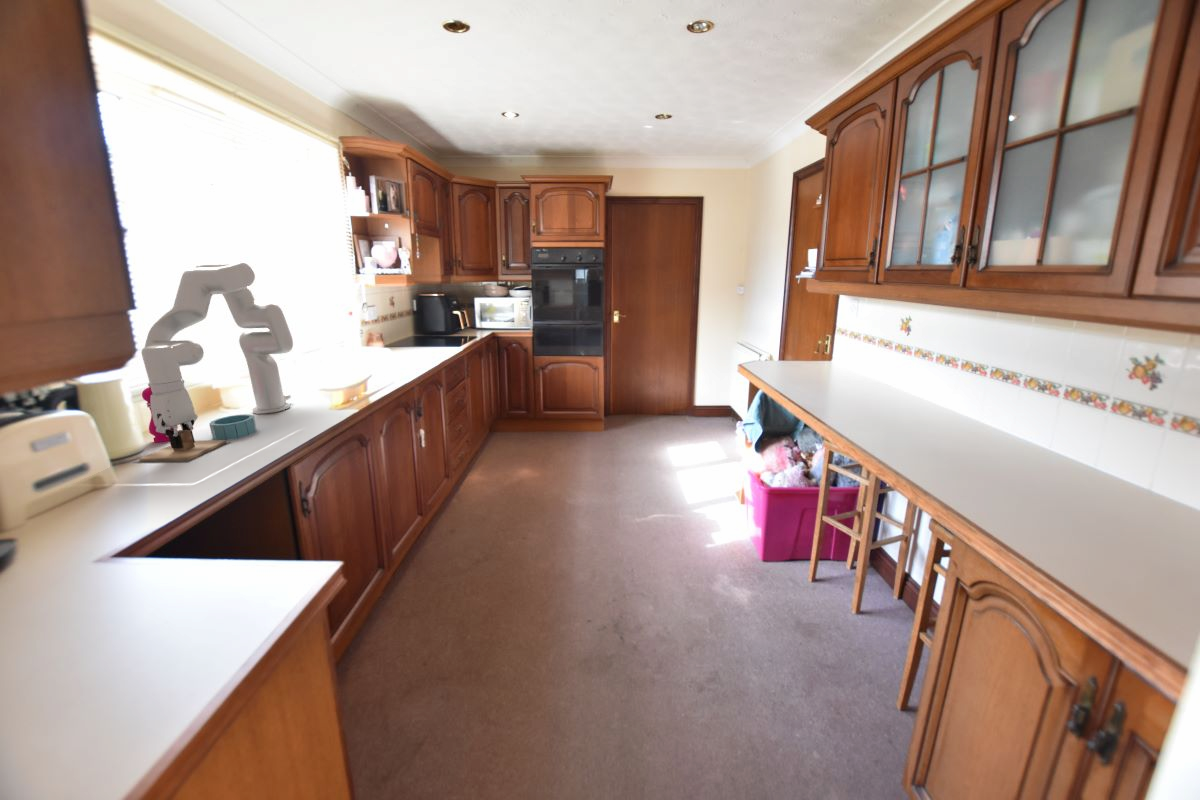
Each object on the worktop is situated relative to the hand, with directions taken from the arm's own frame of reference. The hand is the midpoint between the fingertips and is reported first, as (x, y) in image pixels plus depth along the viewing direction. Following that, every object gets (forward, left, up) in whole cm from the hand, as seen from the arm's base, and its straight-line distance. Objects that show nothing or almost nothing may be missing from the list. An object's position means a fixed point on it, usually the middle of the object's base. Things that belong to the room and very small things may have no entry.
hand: (183, 445), depth 158 cm
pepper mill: (-12, -17, -3) cm, 21 cm away
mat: (0, 0, -3) cm, 3 cm away
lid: (0, 0, -2) cm, 2 cm away
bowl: (-17, +3, -3) cm, 17 cm away
